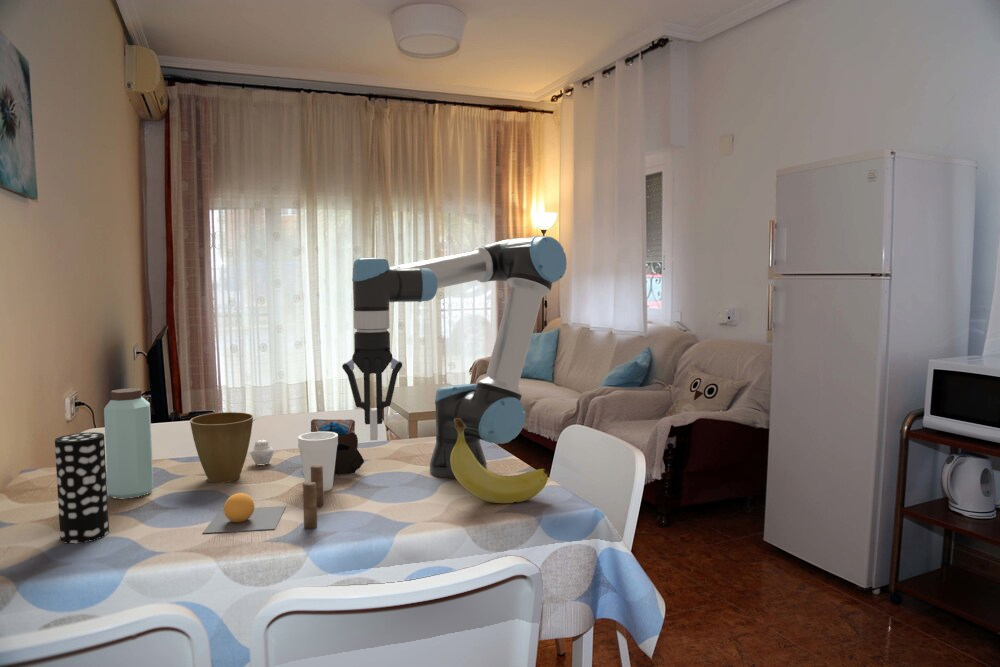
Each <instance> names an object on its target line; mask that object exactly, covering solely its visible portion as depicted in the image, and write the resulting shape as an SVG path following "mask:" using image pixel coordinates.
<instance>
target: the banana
mask: <svg viewBox="0 0 1000 667" xmlns="http://www.w3.org/2000/svg"><path fill="white" fill-rule="evenodd" d="M454 424H455V429H456V430H457V432H458V438H457V442H456V444H455V446H454V448H453V450H452V452H451V457H450V464H451V469H452V472H453V474H454V476H455V477H456V478H455V479H456V481H457V482H458V483H459V484H460V485H461V486H462V487H463V488H464V489H466V491H468V492H469V493H471V494H472V495H473V496H476V497H477V498H479V499H481V500H483V501H485V502H489V503H494V504H495V503H496V504H514V503H513V502H517V503H521V502H525V501H527V500H530V499H532V498H534V497H535V496H538V494H540V492H542V491H543V489H544V488H545V486H546V485H547V483H548V479H549V475H550V474H549V472H548V471H547V470H546V469H545V468H538V469H534V470H531V471H530V470H529V471H527V472H523V473H521V474H515V475H502V474H496V473H495V472H494V473H493V472H491V471H489V470H488V468H487V469H485V468H484V467H483V466H482V465H481V464H480V463H479V462H478V461H477V459H476V458H475V456H474V455H473V453H472V452H471V450H470V448H469V447H468V445H467V444H466V441H465V438H464V429H465V428H466V425H465V424H463V422H462V419H461V418H455V419H454Z"/></svg>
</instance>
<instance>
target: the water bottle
mask: <svg viewBox="0 0 1000 667" xmlns="http://www.w3.org/2000/svg"><path fill="white" fill-rule="evenodd" d="M142 392H143V389H142V388H137V387H132V388H129V387H128V388H119V389H114V390H111V392H110V400H109V402H108V403H107V404H106V405H105V407H104V408H103V418H104V419H103V420H104V440H105V460H106V480H107V495H109V496H110V497H111V498H112V497H116V498H130V497H138V496H141V495H144V494H147V493H149V494H150V493H151V491H152V490H153V487H154V468H153V465H154V464H153V448H152V447H153V446H152V445H153V444H152V421H151V419H152V418H151V403H150V402H149V401H148V400H146V398H144V397H143V396H142V394H143V393H142ZM147 495H148V494H147ZM144 496H145V495H144ZM141 497H142V496H141ZM116 498H115V499H116ZM138 498H139V497H138ZM130 499H131V498H130Z"/></svg>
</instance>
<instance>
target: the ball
mask: <svg viewBox="0 0 1000 667" xmlns="http://www.w3.org/2000/svg"><path fill="white" fill-rule="evenodd" d="M223 505H224V506H223V509H224V513H225V516H226V517H227V518H228V519H229V520H230V521H232V522H236V523H240V522H244V521H246V520H247V519H249V518H250V517H251V515H252V514H253V512H254V508H255V502H254V500H253V498H252V497H251V496H250V495H249V494H246V493H242V492H238V493H235V494H233V495H230V496H229V497H228V499H226V501H225V503H224V504H223Z"/></svg>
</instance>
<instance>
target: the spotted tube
mask: <svg viewBox="0 0 1000 667" xmlns="http://www.w3.org/2000/svg"><path fill="white" fill-rule="evenodd" d="M54 450H55V452H54V454H55V467H56V468H55V470H56V484H57V485H56V486H57V503H58V504H57V505H58V520H59V524H58V525H59V539H60V540H61V541H63V542H67V543H66V544H69V543H75V544H79V543H78V542H84V543H87V542H86V541H89V540H93V541H95V540H94V539H97V538H99V537H102V536H104V535H106V534H107V533H108V532H109V533H110V525H109V523H110V521H109V520H110V519H109V503H108V480H107V461H106V441H105V433H102V432H96V431H95V432H93V431H92V432H80V433H79V432H78V433H77V432H76V433H72V434H71V433H70V434H67V435H61V436H58V437H56V438H54ZM109 533H108V534H109ZM108 534H107V535H108ZM107 535H106V536H107ZM104 537H105V536H104ZM102 538H103V537H102ZM99 539H100V538H99ZM60 540H59V541H60ZM97 540H98V539H97ZM61 541H60V542H61ZM63 542H62V543H63ZM89 542H90V541H89Z"/></svg>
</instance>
